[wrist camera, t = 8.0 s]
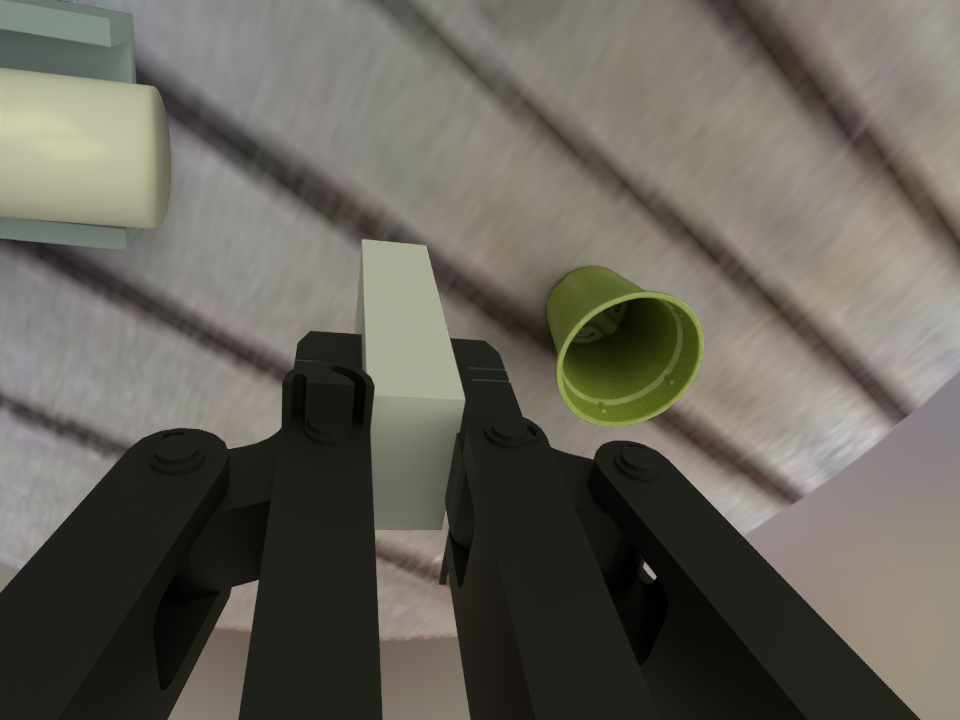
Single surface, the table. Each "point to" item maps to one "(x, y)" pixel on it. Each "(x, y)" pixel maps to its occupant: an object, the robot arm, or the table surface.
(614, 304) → the plant pot
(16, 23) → the grey-green cradle
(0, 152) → the cream bottle
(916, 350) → the table surface
